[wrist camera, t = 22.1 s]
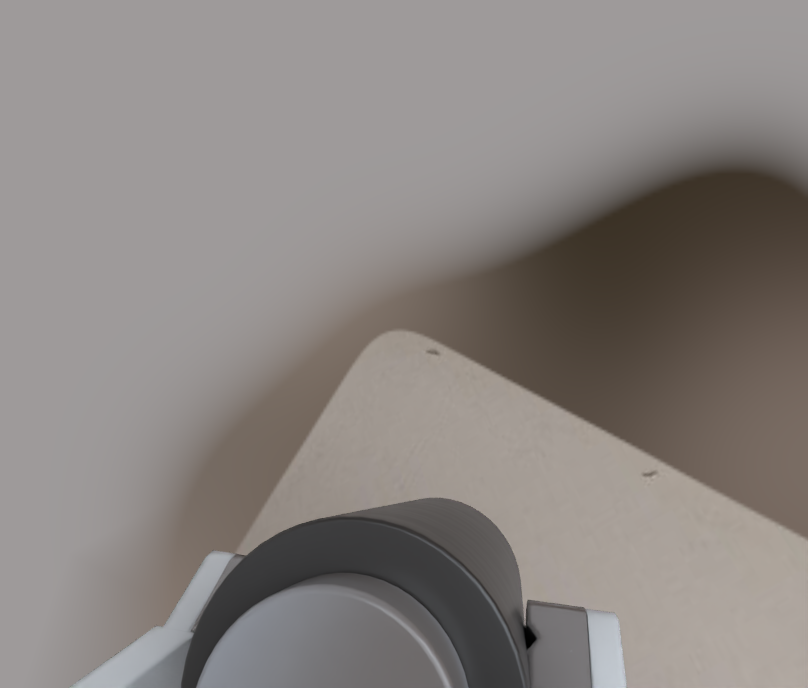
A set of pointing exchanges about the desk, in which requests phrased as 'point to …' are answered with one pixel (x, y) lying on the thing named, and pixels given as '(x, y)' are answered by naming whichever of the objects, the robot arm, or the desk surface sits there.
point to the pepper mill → (369, 606)
